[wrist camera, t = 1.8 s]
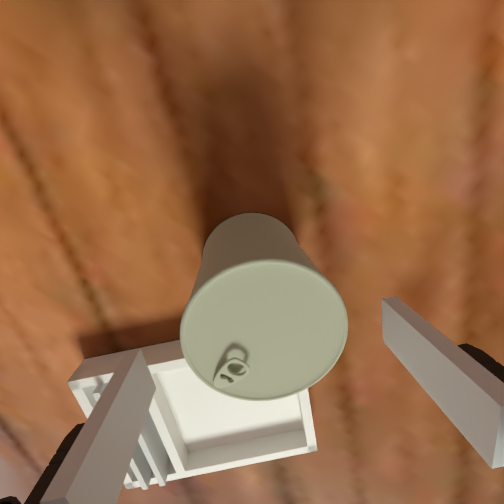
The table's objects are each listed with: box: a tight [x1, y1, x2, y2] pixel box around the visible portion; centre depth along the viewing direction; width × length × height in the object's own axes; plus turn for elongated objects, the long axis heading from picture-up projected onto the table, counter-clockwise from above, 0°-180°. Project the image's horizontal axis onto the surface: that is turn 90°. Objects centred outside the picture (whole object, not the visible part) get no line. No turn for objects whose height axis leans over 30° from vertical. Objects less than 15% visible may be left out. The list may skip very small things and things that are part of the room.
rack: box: [67, 340, 317, 490], centre depth 28 cm, size 16×22×4 cm
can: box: [180, 213, 348, 401], centre depth 19 cm, size 9×9×12 cm
